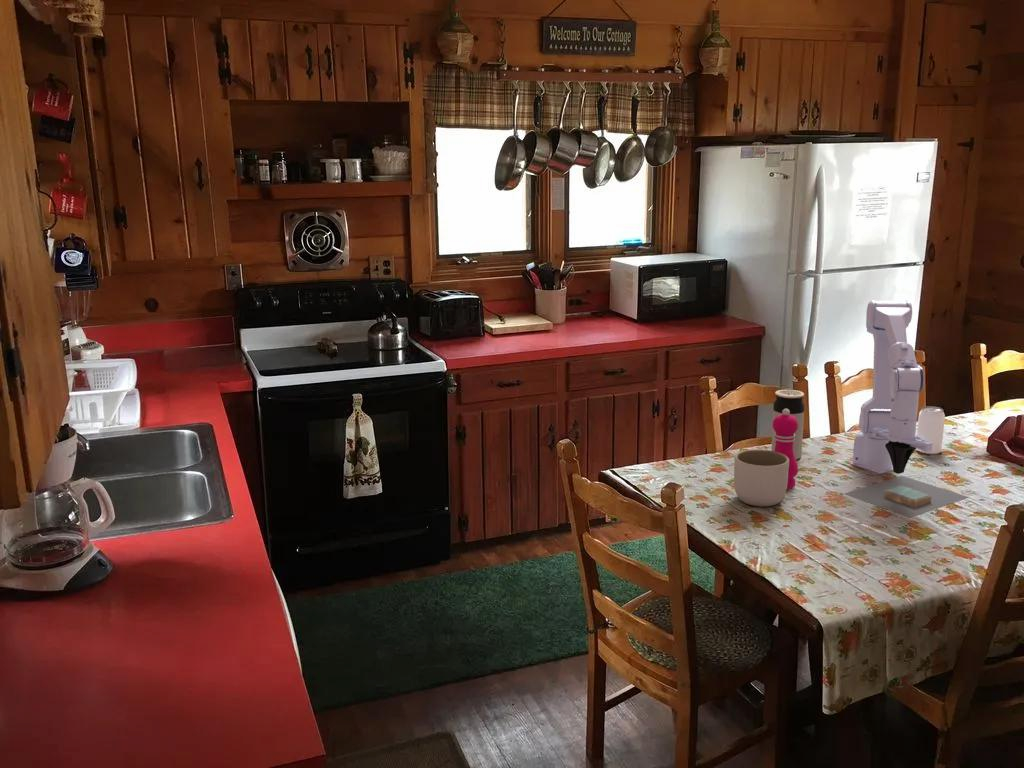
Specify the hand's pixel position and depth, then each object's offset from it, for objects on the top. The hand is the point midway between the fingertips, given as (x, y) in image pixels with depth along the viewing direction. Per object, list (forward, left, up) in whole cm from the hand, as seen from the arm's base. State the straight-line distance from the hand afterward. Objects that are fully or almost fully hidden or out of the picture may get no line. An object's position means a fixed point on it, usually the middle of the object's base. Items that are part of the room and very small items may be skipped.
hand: (898, 472), depth 210 cm
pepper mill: (-21, -16, -7) cm, 27 cm away
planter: (-17, -28, -7) cm, 33 cm away
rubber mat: (+1, +2, -6) cm, 7 cm away
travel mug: (-36, +2, -7) cm, 37 cm away
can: (-17, +37, -7) cm, 41 cm away
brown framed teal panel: (-1, 0, -5) cm, 5 cm away
